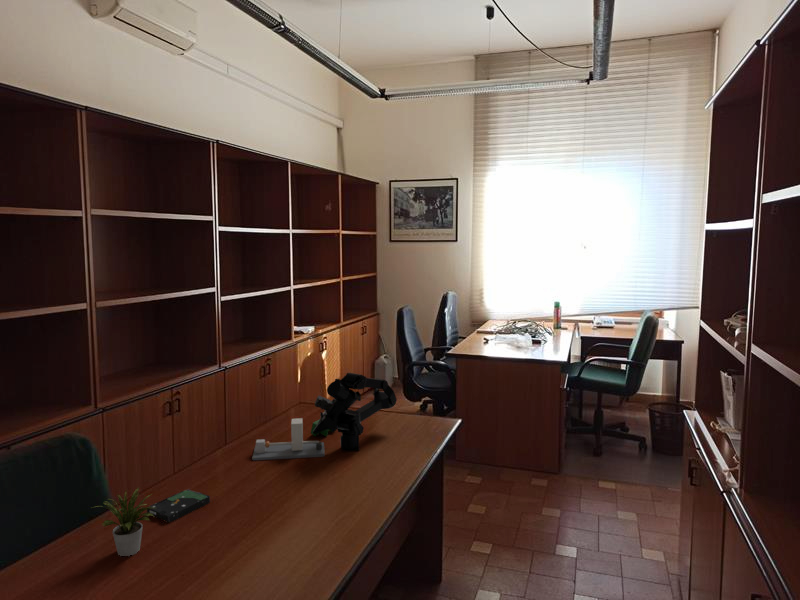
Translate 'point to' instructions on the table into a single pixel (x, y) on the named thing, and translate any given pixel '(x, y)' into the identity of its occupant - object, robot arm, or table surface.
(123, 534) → the house plant
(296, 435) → the stepped pale block
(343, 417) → the robot arm
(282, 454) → the flat grey panel
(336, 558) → the table surface
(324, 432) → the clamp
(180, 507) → the disk drive
